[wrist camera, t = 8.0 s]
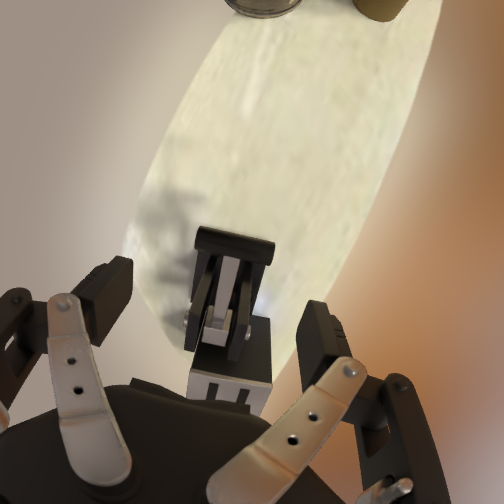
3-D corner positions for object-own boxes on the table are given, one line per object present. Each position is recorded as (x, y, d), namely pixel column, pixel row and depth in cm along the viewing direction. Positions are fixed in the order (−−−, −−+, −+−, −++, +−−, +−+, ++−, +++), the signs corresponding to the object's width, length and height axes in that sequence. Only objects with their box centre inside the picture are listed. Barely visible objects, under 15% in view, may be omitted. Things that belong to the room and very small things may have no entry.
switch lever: (202, 217, 19) (193, 240, 17) (276, 233, 19) (274, 258, 18) (192, 317, 27) (186, 338, 25) (242, 329, 28) (239, 350, 26)
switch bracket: (203, 226, 34) (174, 278, 22) (270, 241, 34) (275, 301, 22) (192, 297, 37) (166, 366, 26) (251, 311, 38) (247, 383, 26)
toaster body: (208, 305, 38) (189, 372, 26) (270, 318, 38) (273, 388, 27) (201, 342, 40) (184, 409, 29) (258, 354, 41) (256, 422, 30)
